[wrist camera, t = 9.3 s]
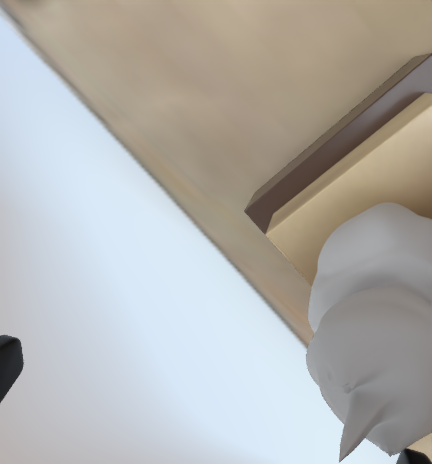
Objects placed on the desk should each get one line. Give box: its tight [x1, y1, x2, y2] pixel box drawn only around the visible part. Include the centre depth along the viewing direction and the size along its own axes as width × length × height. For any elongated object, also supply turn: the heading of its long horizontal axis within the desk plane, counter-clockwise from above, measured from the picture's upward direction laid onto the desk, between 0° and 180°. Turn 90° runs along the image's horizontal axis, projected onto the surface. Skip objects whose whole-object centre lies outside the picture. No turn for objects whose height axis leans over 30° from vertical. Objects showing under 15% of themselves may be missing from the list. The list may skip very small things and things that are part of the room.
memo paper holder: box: [244, 53, 432, 286], centre depth 16 cm, size 9×9×6 cm
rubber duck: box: [306, 202, 432, 462], centre depth 10 cm, size 5×7×8 cm
